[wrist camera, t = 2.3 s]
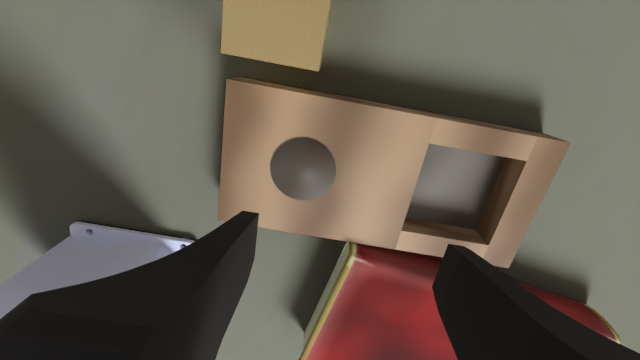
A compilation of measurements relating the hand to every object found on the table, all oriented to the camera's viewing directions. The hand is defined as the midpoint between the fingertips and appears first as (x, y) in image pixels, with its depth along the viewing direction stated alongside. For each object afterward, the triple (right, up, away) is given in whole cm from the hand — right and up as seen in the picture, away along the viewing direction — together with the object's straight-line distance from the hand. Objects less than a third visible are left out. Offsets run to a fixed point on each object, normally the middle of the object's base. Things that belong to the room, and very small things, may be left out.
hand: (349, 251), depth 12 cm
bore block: (+3, +3, +10) cm, 11 cm away
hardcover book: (+9, -9, +15) cm, 20 cm away
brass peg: (-3, +12, +7) cm, 14 cm away
